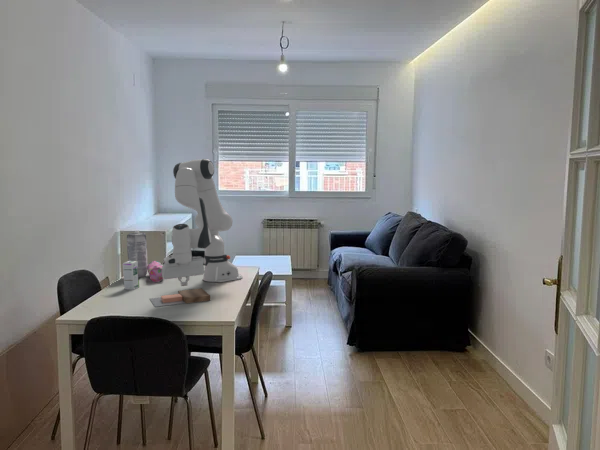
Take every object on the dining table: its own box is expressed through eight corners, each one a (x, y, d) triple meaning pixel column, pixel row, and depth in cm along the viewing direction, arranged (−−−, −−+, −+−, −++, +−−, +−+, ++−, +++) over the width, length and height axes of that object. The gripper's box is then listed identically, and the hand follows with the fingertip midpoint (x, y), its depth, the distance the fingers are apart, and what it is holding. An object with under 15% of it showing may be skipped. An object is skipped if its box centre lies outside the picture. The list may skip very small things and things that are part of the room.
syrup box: (134, 289, 274) (132, 262, 272) (123, 289, 275) (122, 262, 273) (139, 287, 279) (138, 260, 278) (129, 286, 280) (128, 260, 279)
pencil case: (165, 281, 292) (165, 266, 291) (148, 283, 289) (148, 267, 288) (163, 274, 312) (162, 259, 311) (147, 275, 310) (146, 260, 309)
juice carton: (146, 277, 304) (144, 231, 301) (128, 278, 302) (125, 232, 299) (148, 274, 313) (146, 229, 309) (130, 275, 311) (128, 230, 308)
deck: (201, 293, 265) (201, 288, 264) (210, 300, 250) (210, 295, 250) (178, 295, 260) (178, 290, 259) (185, 303, 245) (185, 298, 245)
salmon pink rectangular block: (179, 297, 255) (179, 293, 255) (182, 300, 250) (182, 296, 249) (161, 299, 251) (161, 295, 251) (163, 302, 246) (163, 298, 246)
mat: (178, 295, 260) (178, 295, 260) (185, 303, 245) (185, 302, 245) (149, 299, 254) (149, 298, 254) (155, 307, 239) (155, 306, 239)
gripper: (201, 254, 258) (203, 281, 260) (160, 259, 249) (161, 287, 251) (205, 256, 252) (206, 284, 254) (162, 261, 243) (164, 289, 245)
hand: (184, 285), depth 252 cm, fingers closed
